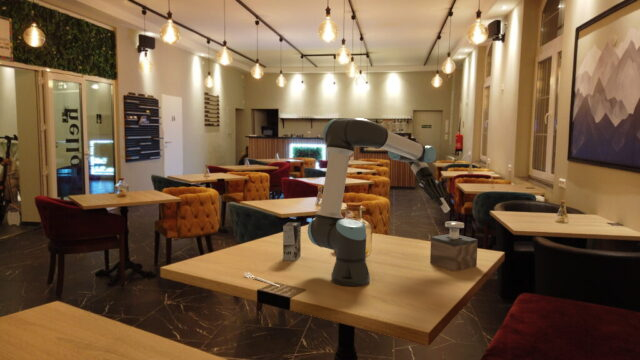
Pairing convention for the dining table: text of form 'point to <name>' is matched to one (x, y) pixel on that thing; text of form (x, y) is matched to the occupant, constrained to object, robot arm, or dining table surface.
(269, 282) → the fork
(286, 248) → the coffee box
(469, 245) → the socket block
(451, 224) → the plunger
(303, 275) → the dining table surface
